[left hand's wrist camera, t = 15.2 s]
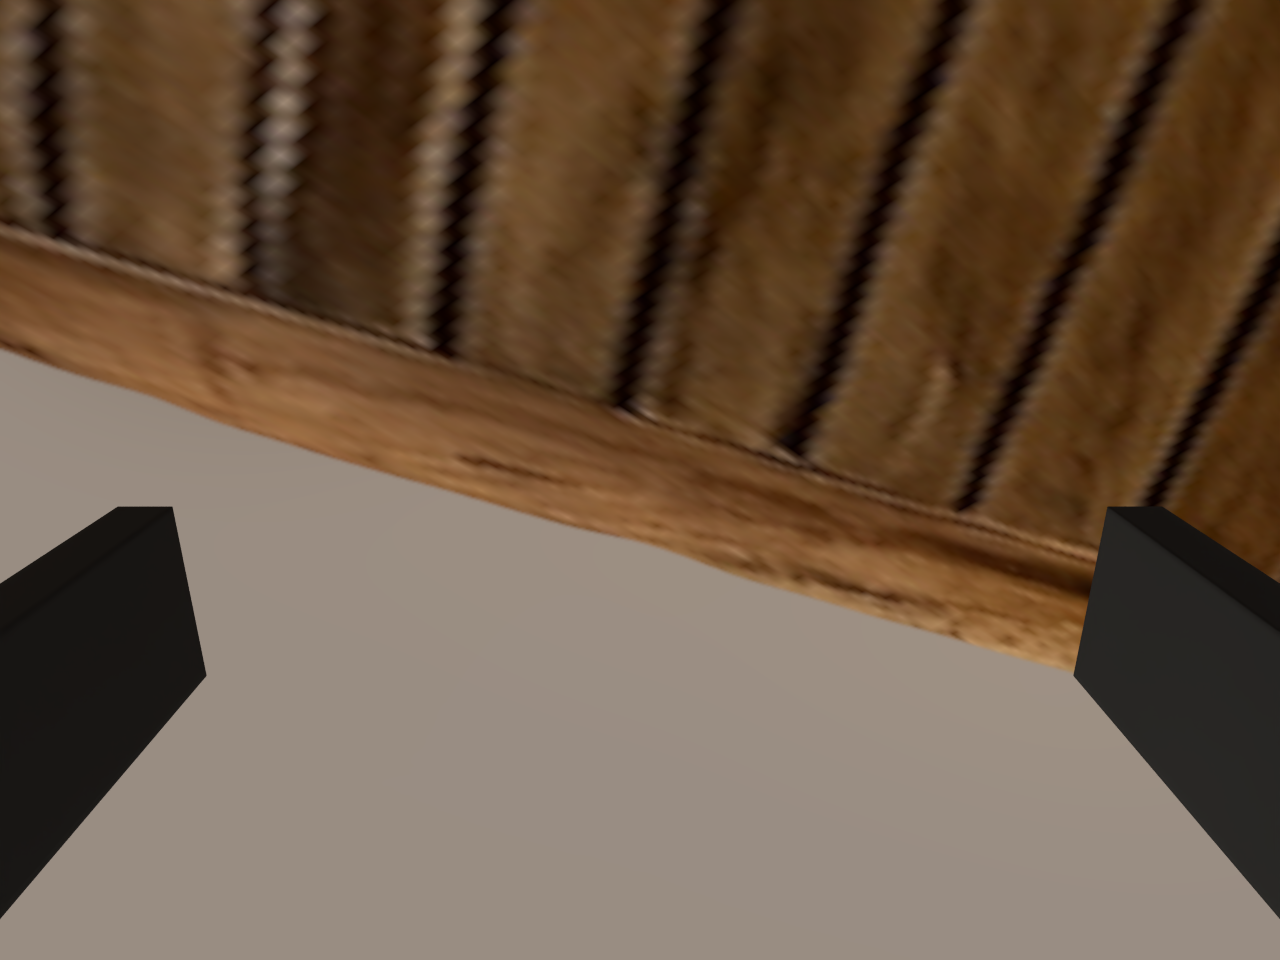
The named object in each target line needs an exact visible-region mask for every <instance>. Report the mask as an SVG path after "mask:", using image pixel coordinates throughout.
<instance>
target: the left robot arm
mask: <svg viewBox="0 0 1280 960" xmlns="http://www.w3.org/2000/svg"><path fill="white" fill-rule="evenodd" d="M205 677H206V671H205V666H204V661H203V656H202V651H201V646H200V641H199V636H198V631H197V626H196V621H195V616H194V611H193V606H192V601H191V596H190V591H189V587H188V582H187V577H186V572H185V567H184V562H183V557H182V552H181V547H180V542H179V537H178V532H177V527H176V522H175V517H174V512H173V507H117V508H115V509H113V510H112V511H110V512H109V513H107V514H106V515H104V516H103V517H101V518H100V519H98V520H97V521H95V522H94V523H92V524H91V525H89V526H88V527H86V528H85V529H83V530H81V531H80V532H78V533H77V534H75V535H74V536H72V537H71V538H69V539H68V540H66V541H65V542H63V543H62V544H60V545H58V546H57V547H55V548H54V549H52V550H51V551H49V552H48V553H46V554H45V555H43V556H42V557H40V558H39V559H37V560H36V561H34V562H33V563H31V564H30V565H28V566H26V567H25V568H23V569H22V570H20V571H19V572H17V573H16V574H14V575H13V576H11V577H10V578H8V579H7V580H5V581H4V582H2V583H0V918H1V917H2V916H3V915H4V914H5V913H6V911H7V910H8V909H9V908H10V907H11V905H12V904H13V903H14V902H15V901H16V900H17V898H18V897H19V896H20V895H21V894H22V893H23V891H24V890H25V889H26V888H27V887H28V885H29V884H30V883H31V882H32V881H33V880H34V878H35V877H36V876H37V875H38V874H39V872H40V871H41V870H42V869H43V868H44V867H45V865H46V864H47V863H48V862H49V861H50V859H51V858H52V857H53V856H54V855H55V854H56V852H57V851H58V850H59V849H60V848H61V847H62V845H63V844H64V843H65V842H66V841H67V840H68V838H69V837H70V836H71V835H72V834H73V832H74V831H75V830H76V829H77V828H78V827H79V825H80V824H81V823H82V822H83V821H84V819H85V818H86V817H87V816H88V815H89V814H90V812H91V811H92V810H93V809H94V808H95V806H96V805H97V804H98V803H99V802H100V801H101V799H102V798H103V797H104V796H105V795H106V794H107V792H108V791H109V790H110V789H111V788H112V786H113V785H114V784H115V783H116V782H117V781H118V779H119V778H120V777H121V776H122V775H123V773H124V772H125V771H126V770H127V769H128V768H129V766H130V765H131V764H132V763H133V762H134V761H135V759H136V758H137V757H138V756H139V755H140V753H141V752H142V751H143V750H144V749H145V748H146V746H147V745H148V744H149V743H150V742H151V741H152V739H153V738H154V737H155V736H156V735H157V733H158V732H159V731H160V730H161V729H162V728H163V726H164V725H165V724H166V723H167V722H168V721H169V719H170V718H171V717H172V716H173V715H174V713H175V712H176V711H177V710H178V709H179V708H180V706H181V705H182V704H183V703H184V702H185V700H186V699H187V698H188V697H189V696H190V695H191V693H192V692H193V691H194V690H195V689H196V688H197V686H198V685H199V684H200V683H201V682H202V680H203V679H204V678H205ZM1074 677H1075V678H1076V679H1077V680H1078V682H1079V683H1080V684H1081V685H1082V686H1083V688H1084V689H1085V690H1086V691H1087V692H1088V693H1089V695H1090V696H1091V697H1092V698H1093V699H1094V700H1095V702H1096V703H1097V704H1098V705H1099V706H1100V707H1101V709H1102V710H1103V711H1104V712H1105V713H1106V715H1107V716H1108V717H1109V718H1110V719H1111V720H1112V722H1113V723H1114V724H1115V725H1116V726H1117V728H1118V729H1119V730H1120V731H1121V732H1122V733H1123V735H1124V736H1125V737H1126V738H1127V739H1128V741H1129V742H1130V743H1131V744H1132V745H1133V746H1134V748H1135V749H1136V750H1137V751H1138V752H1139V753H1140V755H1141V756H1142V757H1143V758H1144V759H1145V761H1146V762H1147V763H1148V764H1149V765H1150V766H1151V768H1152V769H1153V770H1154V771H1155V772H1156V774H1157V775H1158V776H1159V777H1160V778H1161V779H1162V781H1163V782H1164V783H1165V784H1166V785H1167V786H1168V788H1169V789H1170V790H1171V791H1172V792H1173V794H1174V795H1175V796H1176V797H1177V798H1178V799H1179V801H1180V802H1181V803H1182V804H1183V805H1184V806H1185V808H1186V809H1187V810H1188V811H1189V812H1190V814H1191V815H1192V816H1193V817H1194V818H1195V819H1196V821H1197V822H1198V823H1199V824H1200V825H1201V827H1202V828H1203V829H1204V830H1205V831H1206V832H1207V834H1208V835H1209V836H1210V837H1211V838H1212V840H1213V841H1214V842H1215V843H1216V844H1217V845H1218V847H1219V848H1220V849H1221V850H1222V851H1223V852H1224V854H1225V855H1226V856H1227V857H1228V858H1229V860H1230V861H1231V862H1232V863H1233V864H1234V865H1235V867H1236V868H1237V869H1238V870H1239V871H1240V873H1241V874H1242V875H1243V876H1244V877H1245V878H1246V880H1247V881H1248V882H1249V883H1250V884H1251V885H1252V887H1253V888H1254V889H1255V890H1256V891H1257V893H1258V894H1259V895H1260V896H1261V897H1262V898H1263V900H1264V901H1265V902H1266V903H1267V904H1268V905H1269V907H1270V908H1271V909H1272V910H1273V911H1274V912H1275V914H1276V915H1277V916H1278V917H1279V918H1280V583H1278V582H1277V581H1275V580H1273V579H1272V578H1270V577H1269V576H1267V575H1266V574H1264V573H1263V572H1261V571H1260V570H1258V569H1257V568H1255V567H1254V566H1252V565H1251V564H1249V563H1247V562H1246V561H1244V560H1243V559H1241V558H1240V557H1238V556H1237V555H1235V554H1234V553H1232V552H1231V551H1229V550H1228V549H1226V548H1225V547H1223V546H1222V545H1220V544H1218V543H1217V542H1215V541H1214V540H1212V539H1211V538H1209V537H1208V536H1206V535H1205V534H1203V533H1202V532H1200V531H1199V530H1197V529H1196V528H1194V527H1192V526H1191V525H1189V524H1188V523H1186V522H1185V521H1183V520H1182V519H1180V518H1179V517H1177V516H1176V515H1174V514H1173V513H1171V512H1170V511H1168V510H1167V509H1165V508H1163V507H1107V512H1106V517H1105V522H1104V527H1103V532H1102V537H1101V542H1100V547H1099V552H1098V557H1097V562H1096V567H1095V572H1094V577H1093V581H1092V586H1091V591H1090V596H1089V601H1088V606H1087V611H1086V616H1085V621H1084V626H1083V631H1082V636H1081V641H1080V646H1079V651H1078V656H1077V661H1076V666H1075V671H1074Z"/></svg>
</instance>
